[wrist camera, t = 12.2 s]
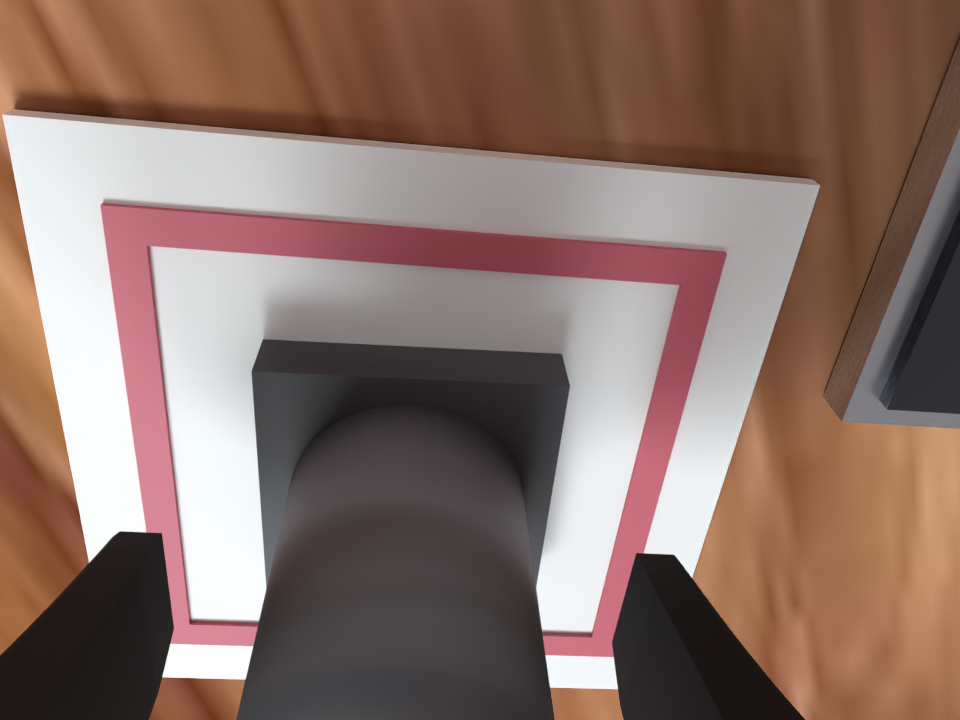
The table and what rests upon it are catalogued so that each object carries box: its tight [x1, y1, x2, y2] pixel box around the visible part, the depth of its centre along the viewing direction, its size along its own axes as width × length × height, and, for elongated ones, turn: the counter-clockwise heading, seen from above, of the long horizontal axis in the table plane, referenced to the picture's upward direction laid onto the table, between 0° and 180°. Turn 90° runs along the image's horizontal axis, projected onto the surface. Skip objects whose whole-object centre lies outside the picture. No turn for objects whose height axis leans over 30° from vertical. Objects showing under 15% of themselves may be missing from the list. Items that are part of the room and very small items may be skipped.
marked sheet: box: [3, 109, 820, 689], centre depth 15 cm, size 12×12×1 cm
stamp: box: [236, 339, 570, 720], centre depth 13 cm, size 5×5×6 cm
